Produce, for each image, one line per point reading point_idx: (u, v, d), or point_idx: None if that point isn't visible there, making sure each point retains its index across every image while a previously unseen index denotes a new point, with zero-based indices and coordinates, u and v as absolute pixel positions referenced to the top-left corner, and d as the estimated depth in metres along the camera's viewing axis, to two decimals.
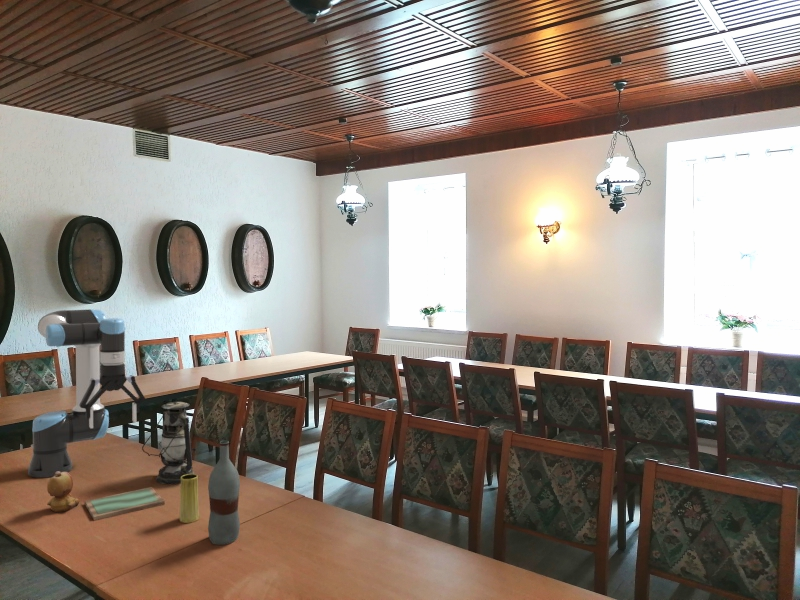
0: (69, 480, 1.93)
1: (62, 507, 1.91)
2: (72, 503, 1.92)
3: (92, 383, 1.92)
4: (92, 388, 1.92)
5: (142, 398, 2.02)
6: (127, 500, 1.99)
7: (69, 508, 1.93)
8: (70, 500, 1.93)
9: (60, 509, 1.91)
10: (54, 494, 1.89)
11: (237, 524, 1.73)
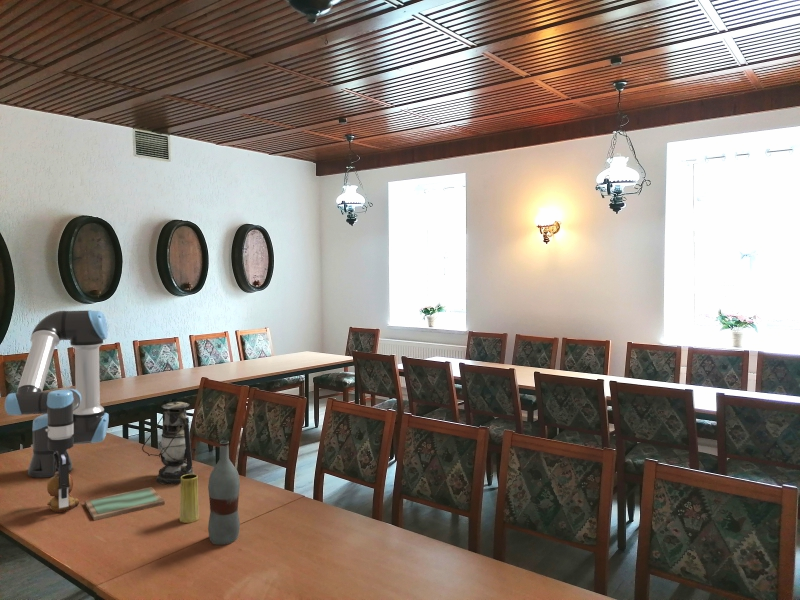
0: (69, 480, 1.93)
1: None
2: (72, 503, 1.92)
3: (54, 452, 1.97)
4: None
5: (60, 485, 1.87)
6: (127, 500, 1.99)
7: (69, 508, 1.93)
8: (70, 500, 1.92)
9: (60, 510, 1.91)
10: (54, 494, 1.89)
11: (237, 524, 1.73)
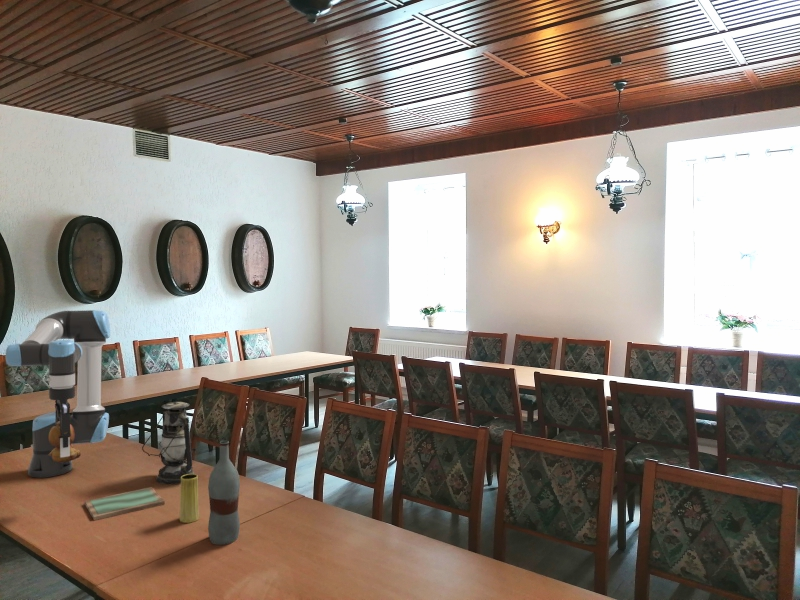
0: (70, 430, 1.92)
1: (63, 457, 1.90)
2: (73, 453, 1.91)
3: None
4: None
5: (61, 434, 1.86)
6: (127, 500, 1.99)
7: (70, 459, 1.92)
8: (71, 450, 1.92)
9: (61, 460, 1.90)
10: (55, 443, 1.88)
11: (237, 524, 1.73)
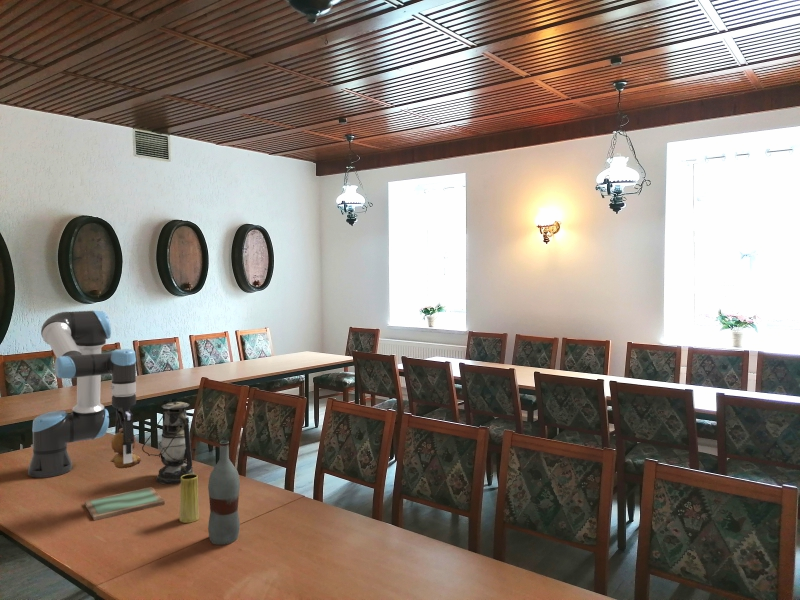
0: None
1: None
2: (135, 459, 1.96)
3: (116, 411, 2.01)
4: (116, 415, 2.01)
5: (125, 441, 1.91)
6: (127, 500, 1.99)
7: (132, 465, 1.97)
8: (133, 457, 1.96)
9: (124, 466, 1.95)
10: (118, 450, 1.93)
11: (237, 524, 1.73)
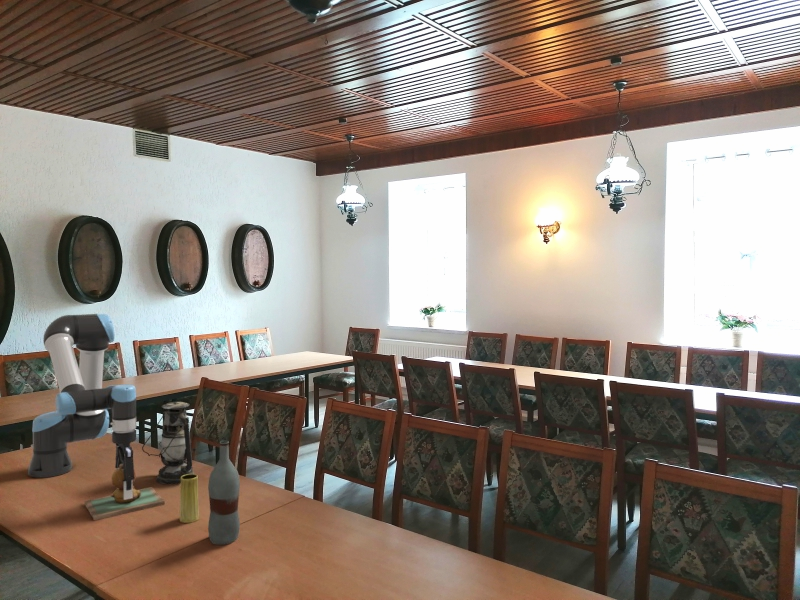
0: None
1: None
2: (135, 495, 1.97)
3: (116, 445, 2.02)
4: (116, 450, 2.02)
5: (125, 477, 1.91)
6: None
7: (132, 500, 1.98)
8: (133, 492, 1.97)
9: (124, 501, 1.96)
10: (119, 486, 1.94)
11: (237, 524, 1.73)
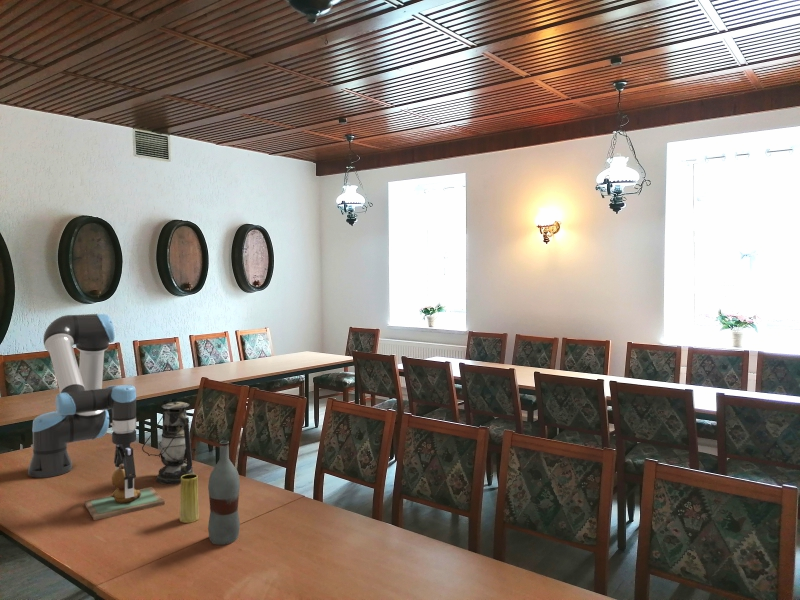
0: None
1: (126, 498, 1.96)
2: (135, 495, 1.97)
3: (116, 443, 2.02)
4: (116, 448, 2.02)
5: (127, 476, 1.90)
6: None
7: (132, 500, 1.98)
8: None
9: (124, 501, 1.96)
10: (119, 486, 1.94)
11: (237, 524, 1.73)
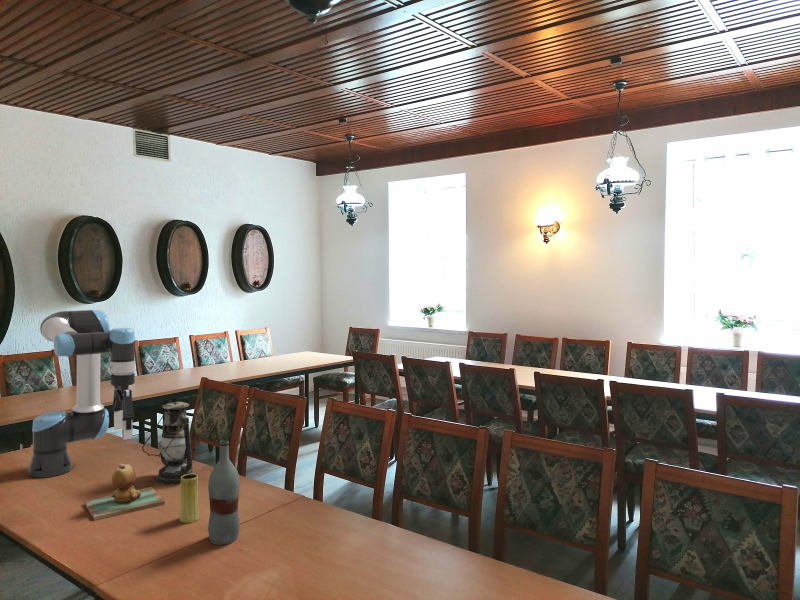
0: (132, 472, 1.97)
1: (126, 498, 1.96)
2: (135, 495, 1.97)
3: (114, 387, 2.01)
4: (114, 392, 2.01)
5: (125, 416, 1.89)
6: None
7: (132, 500, 1.98)
8: (133, 492, 1.97)
9: (124, 501, 1.96)
10: (119, 486, 1.94)
11: (237, 524, 1.73)
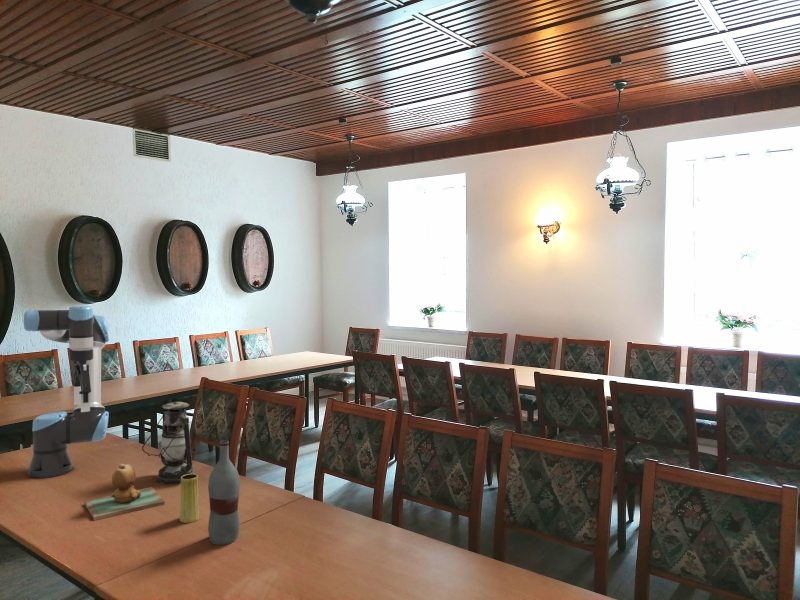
0: (132, 472, 1.97)
1: (126, 498, 1.96)
2: (135, 495, 1.97)
3: (74, 363, 2.09)
4: (74, 368, 2.09)
5: (82, 390, 1.97)
6: None
7: (132, 500, 1.98)
8: (133, 492, 1.97)
9: (124, 501, 1.96)
10: (119, 486, 1.94)
11: (237, 524, 1.73)
